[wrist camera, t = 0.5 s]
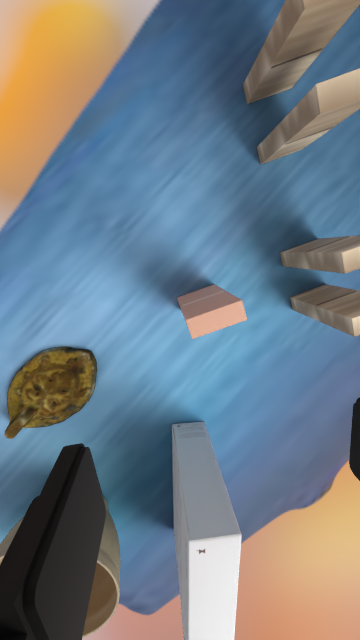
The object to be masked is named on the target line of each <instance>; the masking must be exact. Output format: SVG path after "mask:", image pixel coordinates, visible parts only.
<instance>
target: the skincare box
mask: <svg viewBox="0 0 360 640" xmlns="http://www.w3.org/2000/svg"><path fill="white" fill-rule="evenodd" d="M172 457H173V509H174V537H175V547H176V557H177V567H178V577H179V588H180V598H181V611H182V623H183V634H184V640H234V633H235V618H236V604H237V589H238V576H239V561H240V549H241V536H242V535H241V532H240V529H239V526H238V523H237V520H236V517H235V514H234V511H233V508H232V505H231V502H230V499H229V495H228V492H227V489H226V486H225V483H224V480H223V477H222V474H221V471H220V468H219V465H218V462H217V459H216V456H215V453H214V450H213V446H212V443H211V440H210V437H209V434H208V431H207V428H206V425H205V422H192V423H179V424H172Z"/></svg>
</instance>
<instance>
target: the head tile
mask: <svg viewBox="0 0 360 640" xmlns="http://www.w3.org/2000/svg"><path fill="white" fill-rule="evenodd" d="M290 300H291V304H292V309H293V310H294V311H297V312H299V313H301V314H304V315H306V316H308V317H311V318H313V319H315V320H317V321H320V322H322V323H324V324H327V325H329V326H331V327H334V328H336V329H338V330H341V331H343V332H345V333H347V334H350V335H352V336H354V337H355V336H358V335H360V291H358V290H352V289H347V288H342V287H337V286H332V285H327V284H326V285H323V286H320V287H317V288H314V289H312V290H309V291H306V292H303V293H300V294H297V295H295V296H292V297H290Z"/></svg>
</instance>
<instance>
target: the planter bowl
mask: <svg viewBox="0 0 360 640" xmlns="http://www.w3.org/2000/svg"><path fill="white" fill-rule="evenodd" d="M103 500H104V503H105V508H106V518H105V524H104V529H103V534H102V539H101V544H100V549H99V554H98V560H97V565H96V570H95V575H94V580H93V585H92V590H91V595H90V600H89V605H88V610H87V616H86V621H85V626H84V631H83V636H82V638H83V637H85V636H88V635H90V634H92V633H94V632H95V631H97V630H99V629H100V628H101V627H102V626H104V625H105V624H106V623H107V622H108V621H109V620H110V618H111V617H112V616H113V614H114V613H115V610H116V608H117V605H118V602H119V594H120V582H119V575H120V547H119V540H118V535H117V531H116V528H115V524H114V522H113V519H112V517H111V515H110V513H109V511H108V504H107V501H106V500H105V498H104V497H103ZM23 518H24V517H23ZM23 518H22V519H21V520H20V521H19V522H18V523H17V524H16V525H15V526H14V527H13V528H12V529H11V531H10V532H9V533H8V534H7V536H6V537H5V538H4V540H3V541H2V542H1V544H0V564H1V562H2V560H3V558H4V556H5V554H6V552H7V550H8V548H9V546H10V544H11V542H12V540H13V538H14V536H15V534H16V532H17V530H18V528H19V526H20V524H21V522H22V520H23Z"/></svg>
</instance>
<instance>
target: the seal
mask: <svg viewBox="0 0 360 640" xmlns="http://www.w3.org/2000/svg"><path fill="white" fill-rule="evenodd" d="M96 373H97V363H96V359H95V357H94V355H93V353H92V352H91V351H89V350H81V349H72V348H70V347H58V348H52V349H48V350H45V351H43V352H41V353H39V354H38V355H36V356H35V357H33V358H32V359H31V360H29V361H28V362H27V363H26V364H25V365H24V366H23V367H22V368H21V369H20V370H19V371H18V372H17V373H16V375H15V377H14V378H13V380H12V382H11V384H10V387H9V390H8V398H7V406H8V413H9V418H10V423H9V425H8V427H7V429H6V430H5V436H6V438H9V439H12V438H14V437H15V436H16V435H17V434H18V432H19V431H20V430H21V429H22V428H37V427H47V426H51V425H53V424H57V423H60V422H63V421H65V420H66V419H67V418H69V417H71V416H72V415H73V414H75V413H77V412H78V411H80V410H81V409H82V408H83V406H84V405H85V404H86V403H87V402H88V401H89V399H90V398H91V396H92V394H93V392H94V388H95V382H96Z"/></svg>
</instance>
